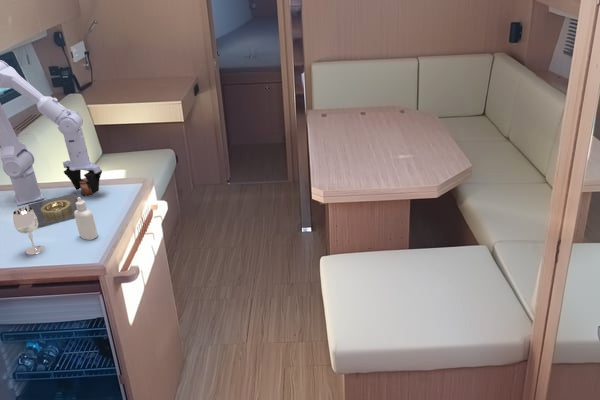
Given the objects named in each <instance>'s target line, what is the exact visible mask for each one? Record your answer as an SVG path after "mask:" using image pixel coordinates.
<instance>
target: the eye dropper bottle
mask: <svg viewBox="0 0 600 400" xmlns="http://www.w3.org/2000/svg"><path fill="white" fill-rule="evenodd" d="M77 199H78V202H76V207H77V210H76V211H75V212H74V216H75V218H74V219H75V223H76V227H77V230H78V234H79V236H80V238H81V239H83V240H87V241H88V240H89V241H90V240H91V241H92V240H95V239H96V238H97V237H98V236H99V234H98V231H97V226H96V222H95V219H94V215H93V212H92V211H91V210H90V209H89V208H87V204H86V201H85V200H83V199H82V198H81V197H80V196H78V197H77Z"/></svg>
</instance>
